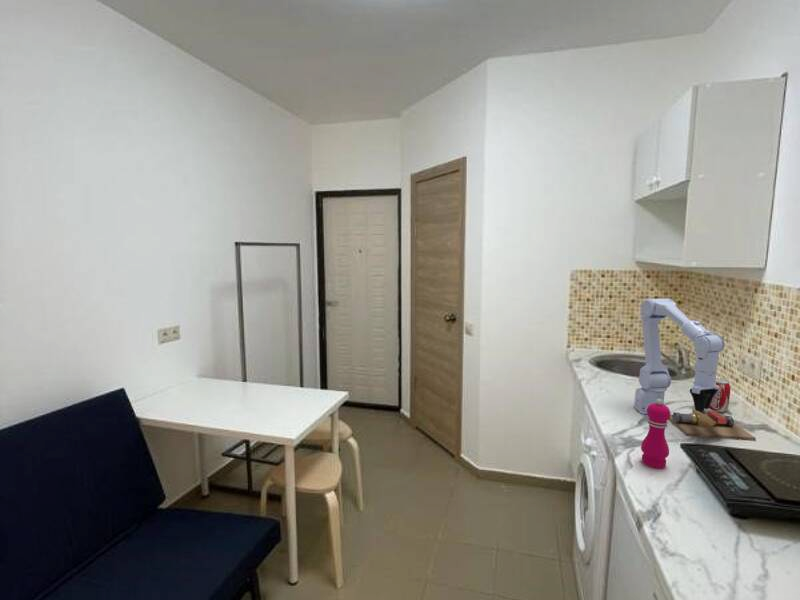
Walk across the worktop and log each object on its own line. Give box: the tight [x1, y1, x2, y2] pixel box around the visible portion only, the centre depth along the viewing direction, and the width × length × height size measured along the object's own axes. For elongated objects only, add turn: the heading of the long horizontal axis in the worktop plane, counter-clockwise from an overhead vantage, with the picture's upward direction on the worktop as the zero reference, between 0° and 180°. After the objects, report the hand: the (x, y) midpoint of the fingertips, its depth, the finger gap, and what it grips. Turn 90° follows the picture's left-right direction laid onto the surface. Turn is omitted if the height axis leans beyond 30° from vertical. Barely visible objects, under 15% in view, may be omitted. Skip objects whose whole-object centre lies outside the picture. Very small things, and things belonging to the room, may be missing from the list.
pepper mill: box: [640, 399, 672, 470], centre depth 128 cm, size 7×7×20 cm
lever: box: [703, 408, 727, 424], centre depth 149 cm, size 13×3×2 cm, turn 171°
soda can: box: [709, 377, 732, 413], centre depth 170 cm, size 7×7×12 cm
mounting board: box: [668, 414, 756, 441], centre depth 154 cm, size 21×16×1 cm
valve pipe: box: [672, 408, 735, 427], centre depth 154 cm, size 18×5×5 cm, turn 81°
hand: (701, 409), depth 146 cm, fingers open, 4 cm apart
